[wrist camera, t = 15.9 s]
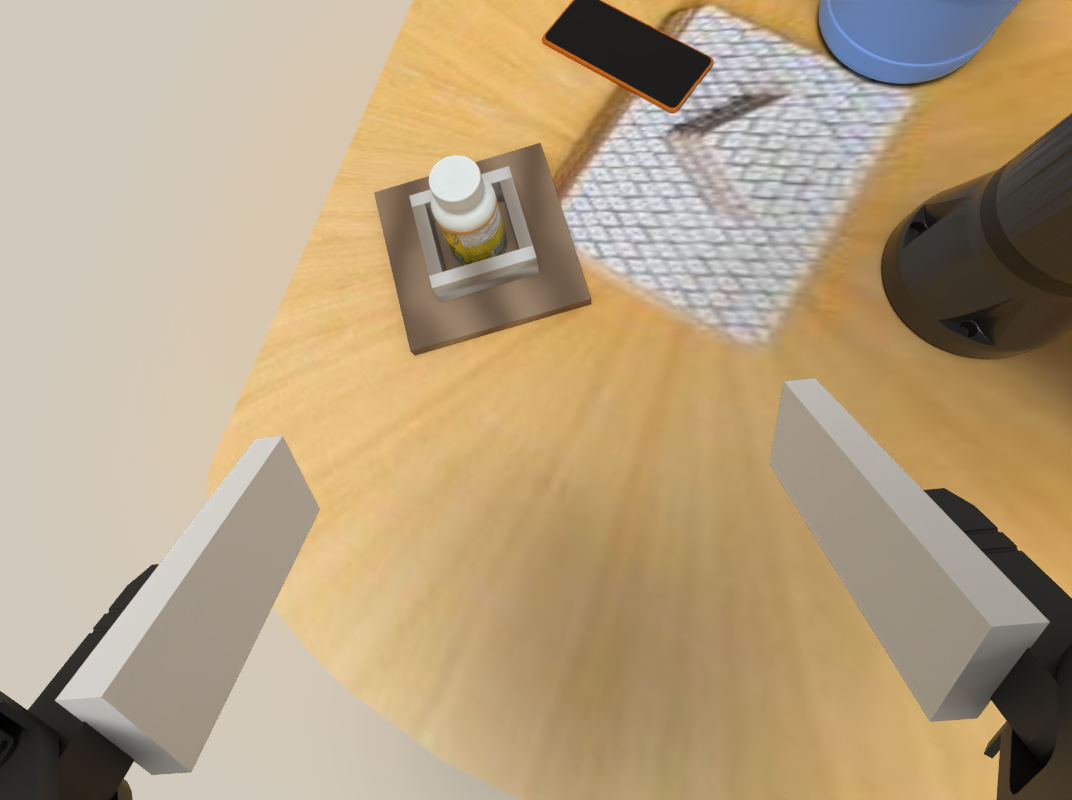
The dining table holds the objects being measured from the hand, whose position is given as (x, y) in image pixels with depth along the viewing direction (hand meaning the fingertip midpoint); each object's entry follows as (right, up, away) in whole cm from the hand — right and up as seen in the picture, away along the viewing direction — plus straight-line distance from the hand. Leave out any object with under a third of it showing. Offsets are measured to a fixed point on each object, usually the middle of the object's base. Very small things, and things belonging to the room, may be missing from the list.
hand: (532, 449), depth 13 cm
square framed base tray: (-5, +16, +34) cm, 38 cm away
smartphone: (+9, +37, +38) cm, 54 cm away
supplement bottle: (-5, +16, +33) cm, 37 cm away
